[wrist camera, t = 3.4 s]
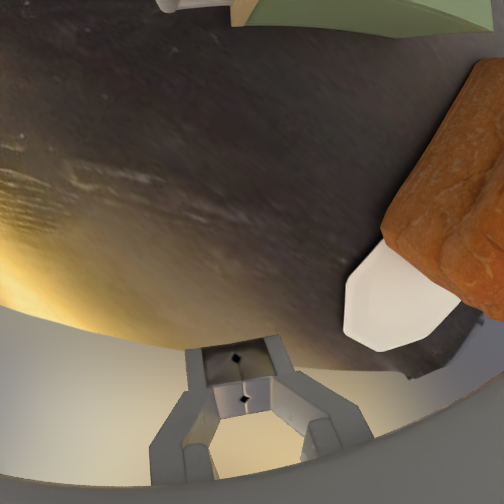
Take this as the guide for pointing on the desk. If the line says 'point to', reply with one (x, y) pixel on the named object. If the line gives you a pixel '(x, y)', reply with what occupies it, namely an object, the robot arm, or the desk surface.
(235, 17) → the pull-out drawer
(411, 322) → the plate
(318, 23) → the cabinet
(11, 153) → the desk surface
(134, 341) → the desk surface
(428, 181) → the bread
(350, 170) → the desk surface
